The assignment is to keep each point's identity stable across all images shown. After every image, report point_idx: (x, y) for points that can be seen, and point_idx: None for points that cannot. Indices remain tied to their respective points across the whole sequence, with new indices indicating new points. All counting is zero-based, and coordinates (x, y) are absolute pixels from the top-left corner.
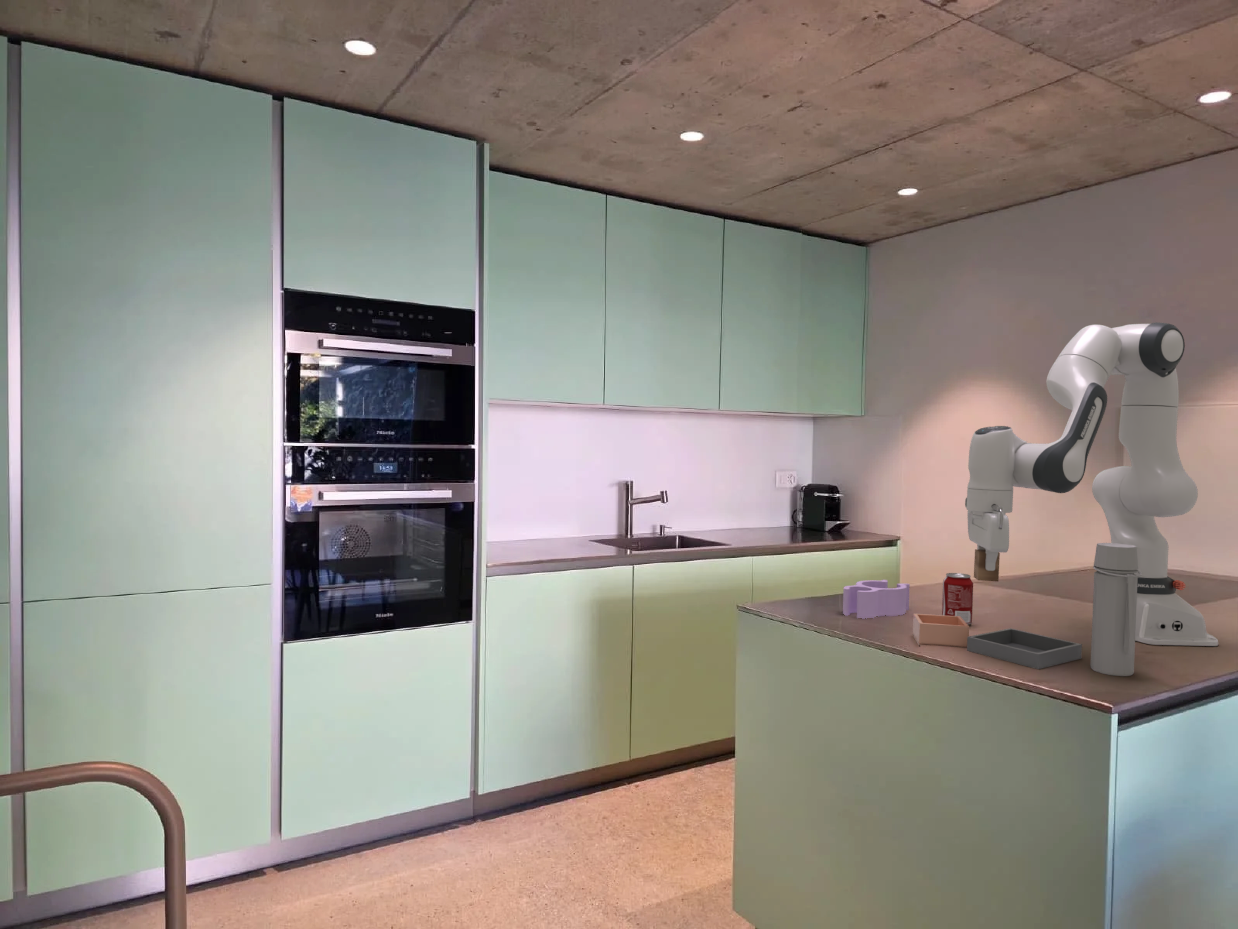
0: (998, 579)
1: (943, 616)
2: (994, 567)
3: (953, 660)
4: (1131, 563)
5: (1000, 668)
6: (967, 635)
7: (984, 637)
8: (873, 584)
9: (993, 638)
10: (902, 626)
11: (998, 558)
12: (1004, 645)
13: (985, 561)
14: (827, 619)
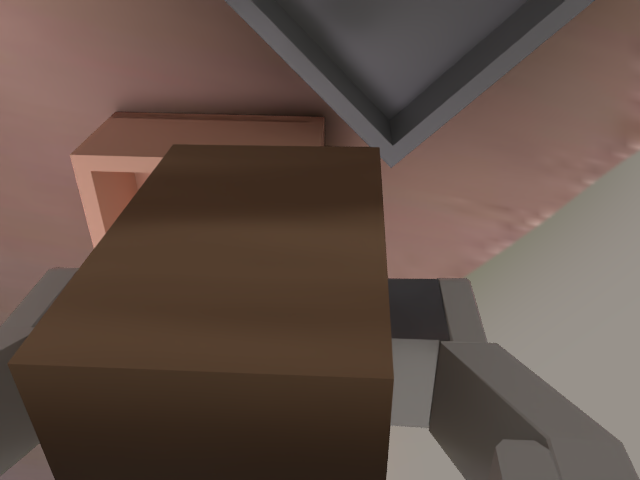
0: (379, 156)
1: (105, 231)
2: (470, 300)
3: (510, 208)
4: None
5: (629, 45)
6: None
7: (321, 67)
8: None
9: (264, 3)
10: (9, 291)
11: (385, 318)
12: (557, 21)
13: (427, 427)
14: (46, 470)
